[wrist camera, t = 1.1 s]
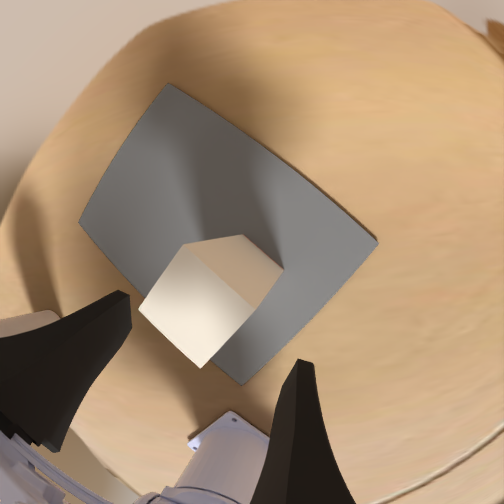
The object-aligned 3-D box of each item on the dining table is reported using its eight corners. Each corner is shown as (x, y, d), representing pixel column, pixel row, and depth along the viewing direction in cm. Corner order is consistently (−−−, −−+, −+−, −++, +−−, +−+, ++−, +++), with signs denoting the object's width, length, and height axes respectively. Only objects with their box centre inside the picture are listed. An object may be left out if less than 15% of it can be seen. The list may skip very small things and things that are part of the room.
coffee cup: (76, 383, 29) (-7, 436, 14) (33, 341, 30) (-47, 375, 16) (83, 325, 27) (-26, 373, 12) (36, 283, 28) (-61, 308, 14)
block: (284, 269, 21) (255, 309, 11) (250, 308, 22) (200, 368, 12) (243, 234, 22) (183, 244, 12) (211, 273, 22) (138, 309, 13)
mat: (377, 243, 20) (379, 243, 19) (242, 383, 23) (241, 386, 23) (170, 84, 22) (168, 82, 22) (80, 222, 26) (78, 222, 25)
